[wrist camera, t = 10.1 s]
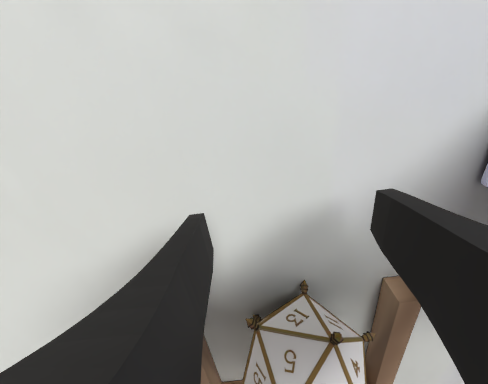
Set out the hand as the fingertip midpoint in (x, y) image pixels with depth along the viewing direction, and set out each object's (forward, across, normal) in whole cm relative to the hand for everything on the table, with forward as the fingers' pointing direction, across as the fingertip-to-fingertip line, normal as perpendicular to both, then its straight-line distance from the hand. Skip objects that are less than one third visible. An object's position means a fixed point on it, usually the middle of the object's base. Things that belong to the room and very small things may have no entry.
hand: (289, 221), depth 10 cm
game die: (+4, 0, +11) cm, 11 cm away
